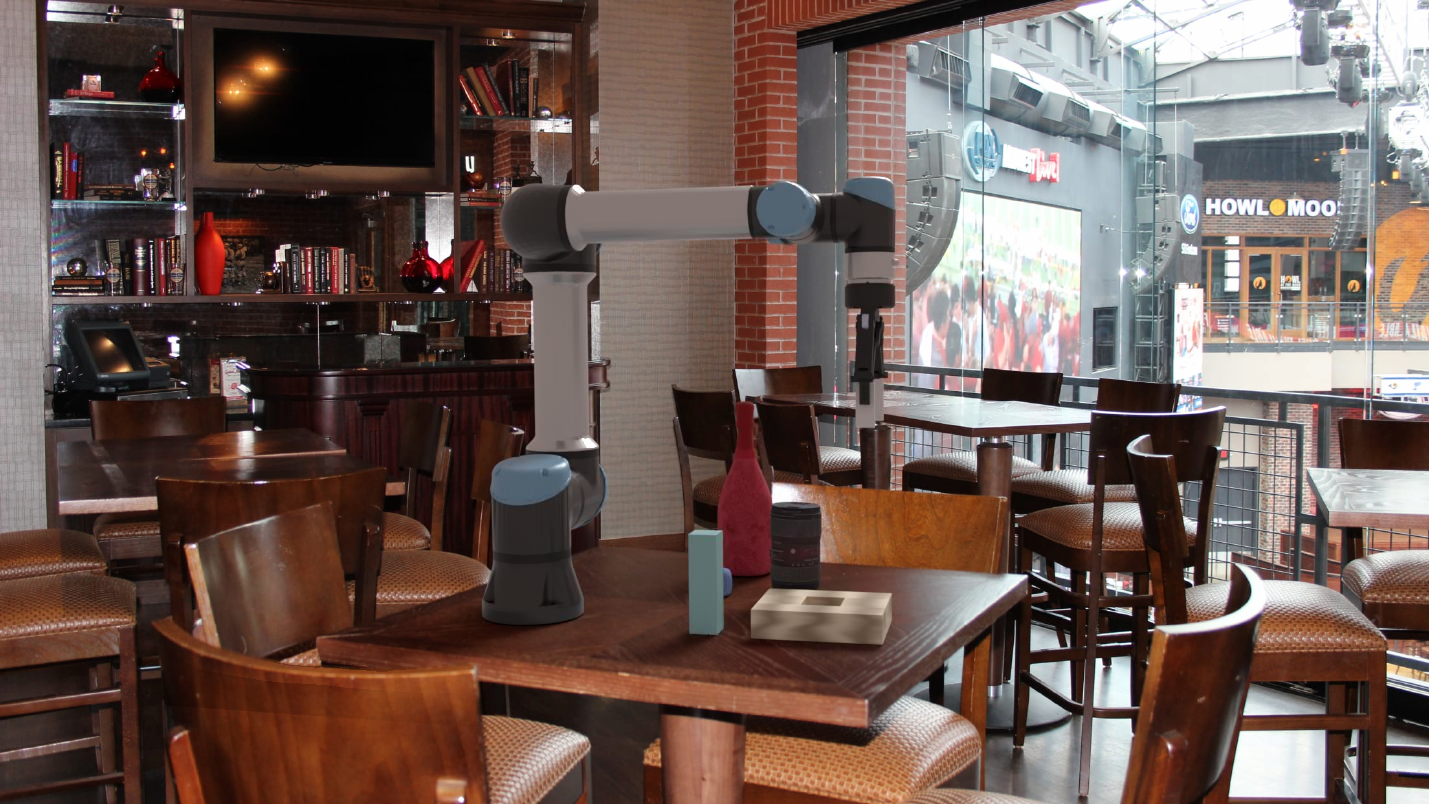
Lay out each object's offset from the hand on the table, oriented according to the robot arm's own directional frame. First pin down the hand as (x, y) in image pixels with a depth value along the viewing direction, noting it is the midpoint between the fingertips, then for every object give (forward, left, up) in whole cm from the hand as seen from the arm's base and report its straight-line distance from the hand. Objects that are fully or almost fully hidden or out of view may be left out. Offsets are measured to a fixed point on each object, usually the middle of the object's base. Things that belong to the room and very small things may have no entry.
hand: (870, 424), depth 185 cm
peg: (-21, -18, -28) cm, 40 cm away
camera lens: (-12, +5, -28) cm, 31 cm away
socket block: (-5, -14, -28) cm, 32 cm away
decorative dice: (-25, +6, -28) cm, 38 cm away
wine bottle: (-24, +24, -28) cm, 44 cm away
